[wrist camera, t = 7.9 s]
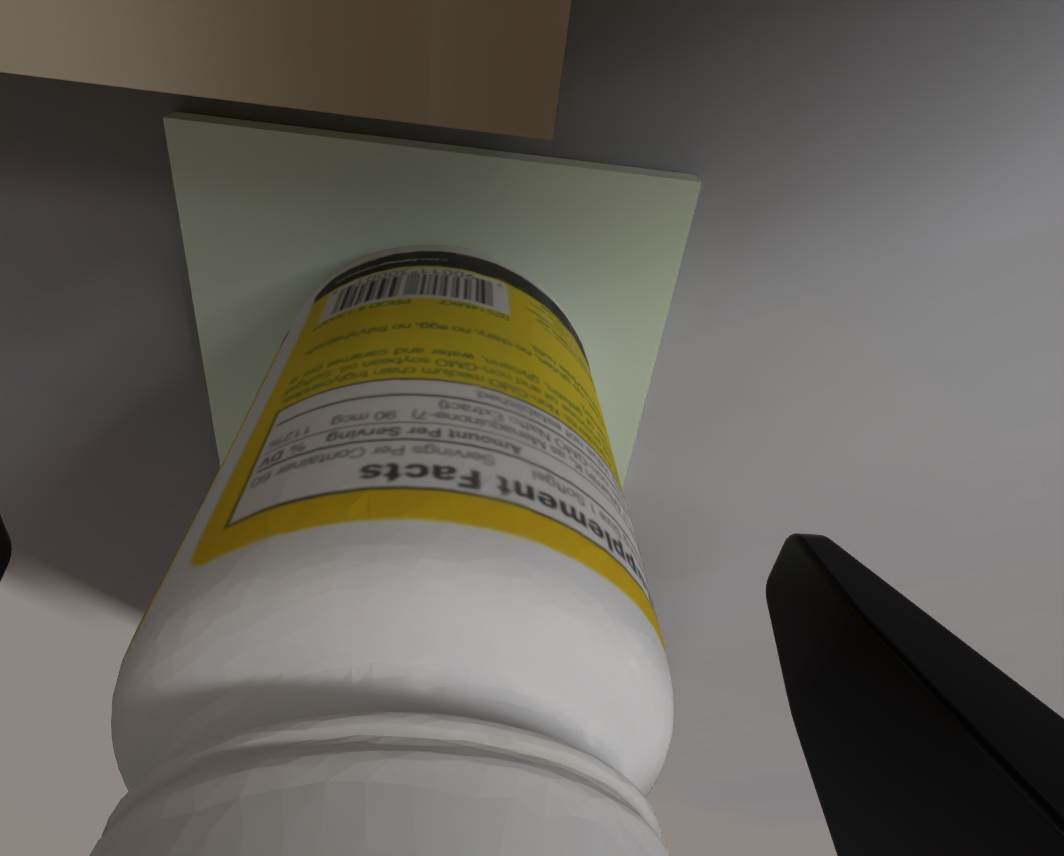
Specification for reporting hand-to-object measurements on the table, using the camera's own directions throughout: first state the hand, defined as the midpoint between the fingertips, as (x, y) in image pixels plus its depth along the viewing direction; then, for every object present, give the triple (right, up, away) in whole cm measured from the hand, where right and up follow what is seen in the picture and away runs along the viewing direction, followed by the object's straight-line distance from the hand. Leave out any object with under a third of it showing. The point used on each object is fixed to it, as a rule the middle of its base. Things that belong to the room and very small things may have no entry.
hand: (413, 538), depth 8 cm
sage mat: (0, +2, +3) cm, 4 cm away
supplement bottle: (0, +2, +3) cm, 4 cm away
